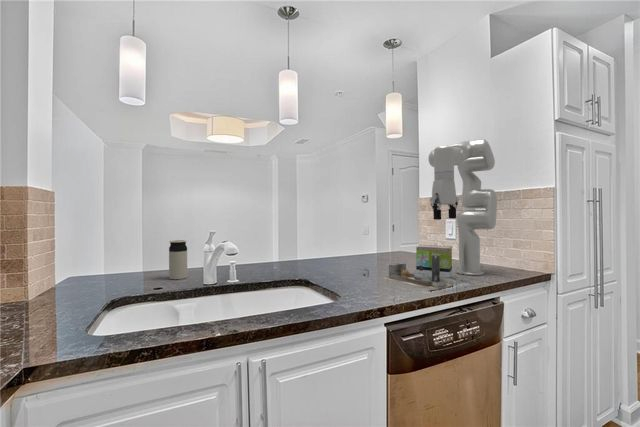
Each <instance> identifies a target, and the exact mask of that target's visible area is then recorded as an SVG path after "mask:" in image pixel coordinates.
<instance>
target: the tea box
mask: <svg viewBox="0 0 640 427" xmlns="http://www.w3.org/2000/svg"><path fill="white" fill-rule="evenodd" d="M415 253H416V256H415V257H416V261H415V262H416V263H415V267H416V268H415V273H426V274H429V277H432V255H438V256H440V278H441V277H442V278H451V277H452V275H453V265H452V264H453V246H450V245H433V244H432V245H431V244H419V245H417V246H416V252H415Z"/></svg>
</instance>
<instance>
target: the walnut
mask: <svg viewBox="0 0 640 427" xmlns="http://www.w3.org/2000/svg"><path fill="white" fill-rule="evenodd" d="M409 276H410V271H409V270H408V269H406V270H402V271H401V277H406V278H409Z"/></svg>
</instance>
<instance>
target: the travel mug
mask: <svg viewBox="0 0 640 427" xmlns="http://www.w3.org/2000/svg"><path fill="white" fill-rule="evenodd" d="M186 243H187V240H185V239H184V240H183V239H182V240H179V239H178V240H170V241H169V245H170V246H169V247H168V270H169V271H168V272H169V273H168V279H169V280H172V279H179V280H184V279H183V278H185V279H187V278H188V246H187V244H186Z"/></svg>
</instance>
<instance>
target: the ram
mask: <svg viewBox="0 0 640 427" xmlns="http://www.w3.org/2000/svg"><path fill="white" fill-rule="evenodd" d="M414 274H415V279H416V280H421V281H426V282H430V286H435V287H438V288H440V287H439V286H443V285H448V283H449V281H448V280H446V279H443V280H441V277H440V256H438V255H432V276H431V277H432V278H429V277H430V276H429V274H426V273H416V272H415V273H414ZM448 286H449V285H448ZM443 287H444V286H443Z"/></svg>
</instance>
